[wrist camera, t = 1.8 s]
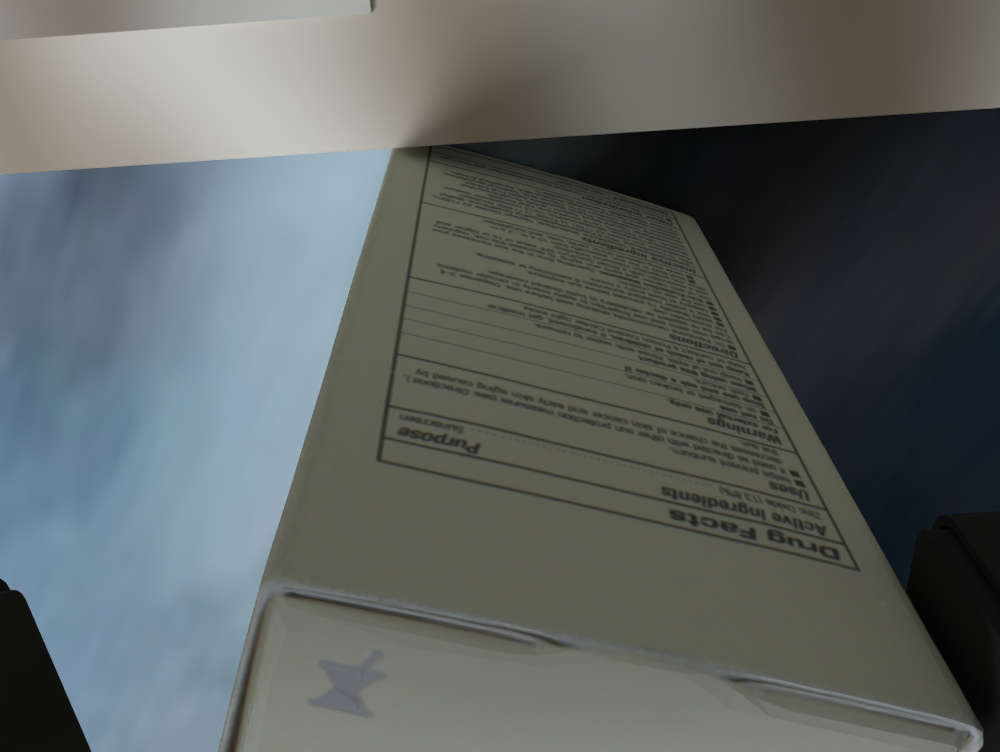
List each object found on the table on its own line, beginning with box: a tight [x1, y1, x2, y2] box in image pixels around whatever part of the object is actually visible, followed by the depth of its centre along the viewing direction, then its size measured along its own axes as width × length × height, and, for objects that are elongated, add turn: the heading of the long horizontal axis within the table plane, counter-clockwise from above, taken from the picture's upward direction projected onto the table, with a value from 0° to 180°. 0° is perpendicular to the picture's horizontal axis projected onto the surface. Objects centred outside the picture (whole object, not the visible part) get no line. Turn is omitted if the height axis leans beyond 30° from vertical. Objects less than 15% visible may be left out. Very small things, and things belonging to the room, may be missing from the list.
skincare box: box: [218, 145, 984, 752], centre depth 13 cm, size 6×4×12 cm
